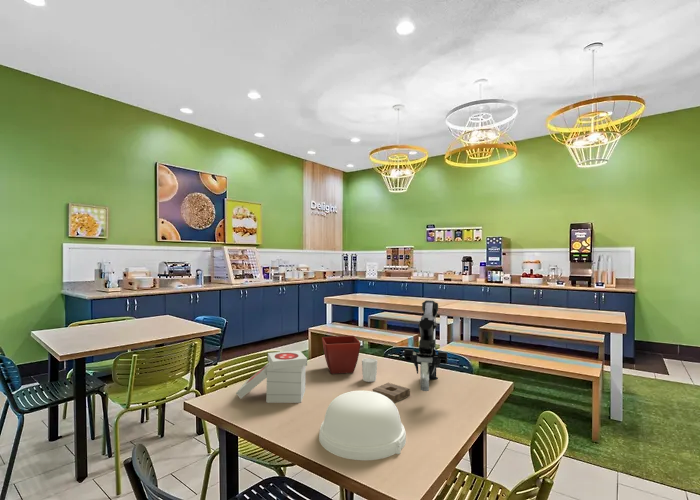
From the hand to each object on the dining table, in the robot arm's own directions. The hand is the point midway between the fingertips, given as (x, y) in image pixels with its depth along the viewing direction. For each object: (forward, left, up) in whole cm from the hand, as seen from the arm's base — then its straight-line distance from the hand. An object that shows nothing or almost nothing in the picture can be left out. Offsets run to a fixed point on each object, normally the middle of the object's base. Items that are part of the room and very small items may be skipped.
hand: (424, 374), depth 154 cm
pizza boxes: (+59, -29, -13) cm, 67 cm away
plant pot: (+19, -56, -13) cm, 61 cm away
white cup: (+10, -36, -13) cm, 40 cm away
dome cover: (+35, +18, -13) cm, 42 cm away
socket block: (+9, -13, -13) cm, 20 cm away
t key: (-1, -1, -7) cm, 7 cm away
